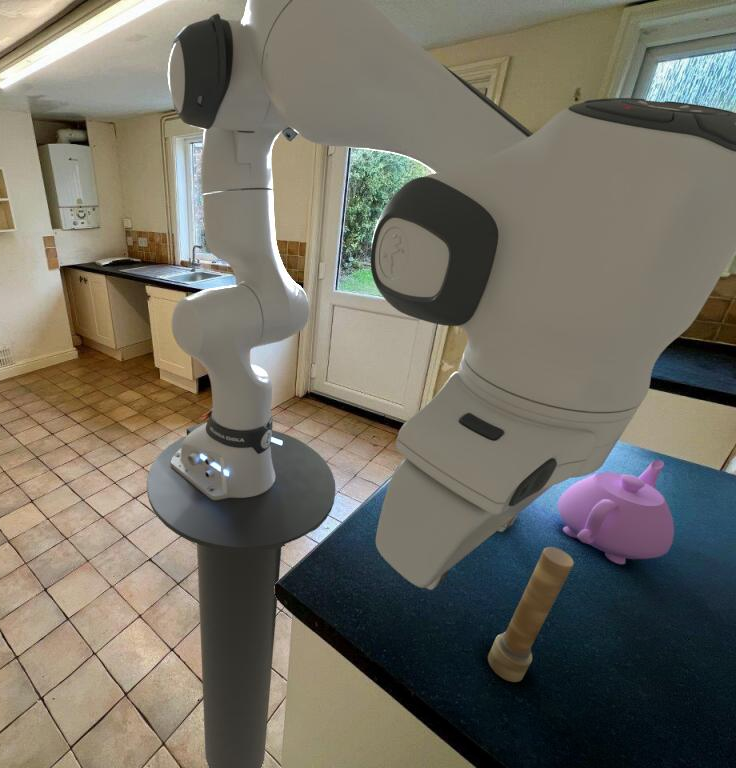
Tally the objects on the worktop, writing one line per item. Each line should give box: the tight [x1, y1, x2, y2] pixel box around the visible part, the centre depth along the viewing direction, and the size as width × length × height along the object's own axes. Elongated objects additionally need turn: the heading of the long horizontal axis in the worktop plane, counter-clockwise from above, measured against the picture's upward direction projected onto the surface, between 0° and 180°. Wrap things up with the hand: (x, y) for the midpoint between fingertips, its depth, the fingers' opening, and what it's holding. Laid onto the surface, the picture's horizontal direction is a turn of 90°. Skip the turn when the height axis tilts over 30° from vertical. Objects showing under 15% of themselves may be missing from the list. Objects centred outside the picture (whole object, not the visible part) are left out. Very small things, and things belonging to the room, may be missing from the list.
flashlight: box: [487, 546, 575, 683], centre depth 47 cm, size 4×4×19 cm
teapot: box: [557, 459, 675, 565], centre depth 68 cm, size 20×14×12 cm
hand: (463, 549), depth 33 cm, fingers open, 8 cm apart
